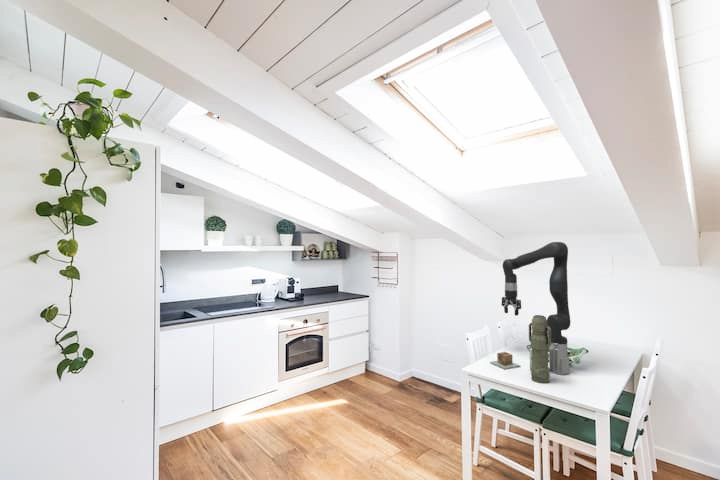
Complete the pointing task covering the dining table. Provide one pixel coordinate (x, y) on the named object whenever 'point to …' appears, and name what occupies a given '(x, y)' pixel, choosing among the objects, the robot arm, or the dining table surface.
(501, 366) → the coaster
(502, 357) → the walnut block
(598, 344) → the dining table surface
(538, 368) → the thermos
